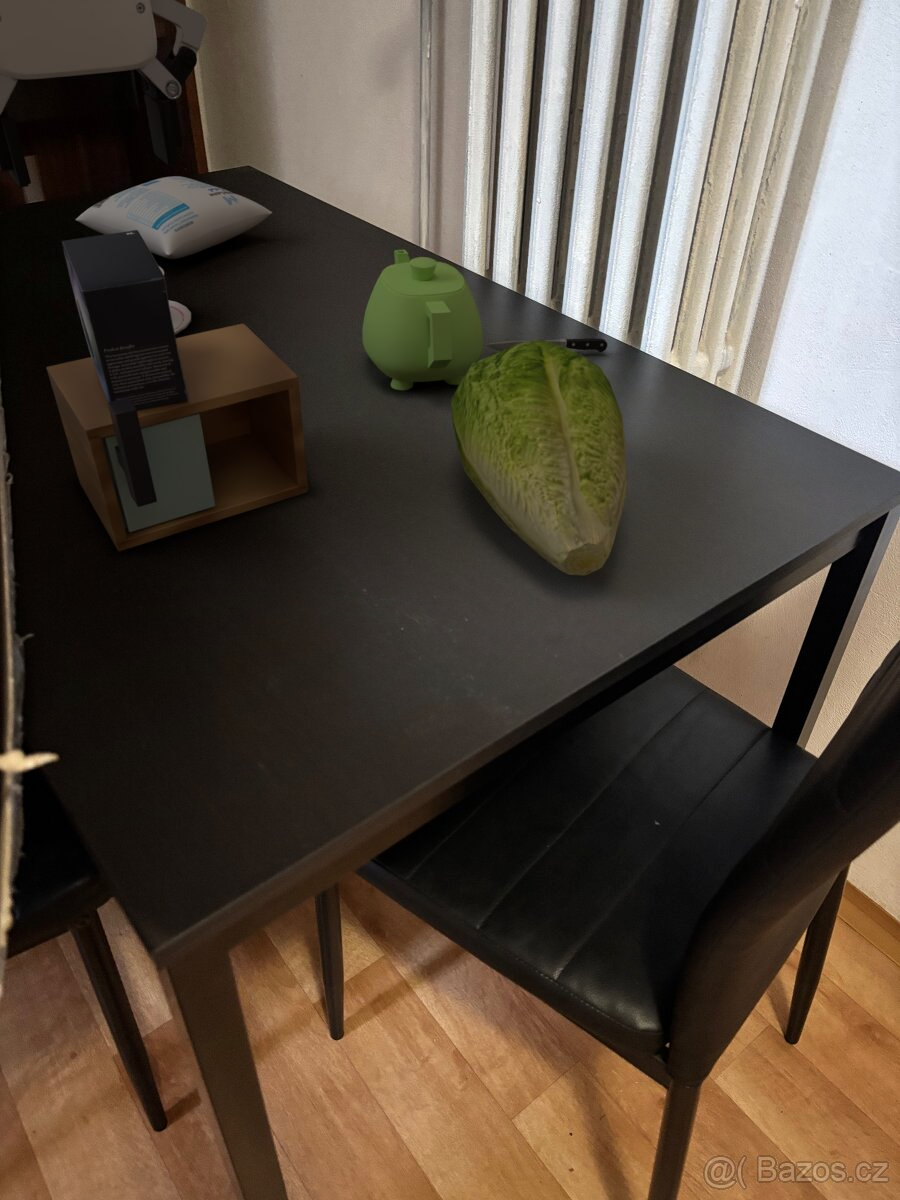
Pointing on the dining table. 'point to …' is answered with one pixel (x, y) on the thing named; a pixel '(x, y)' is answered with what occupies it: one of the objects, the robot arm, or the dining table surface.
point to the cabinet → (229, 424)
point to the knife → (569, 343)
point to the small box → (126, 318)
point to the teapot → (422, 323)
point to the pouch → (176, 215)
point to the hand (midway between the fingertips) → (96, 170)
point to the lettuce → (546, 450)
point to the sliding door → (158, 467)
